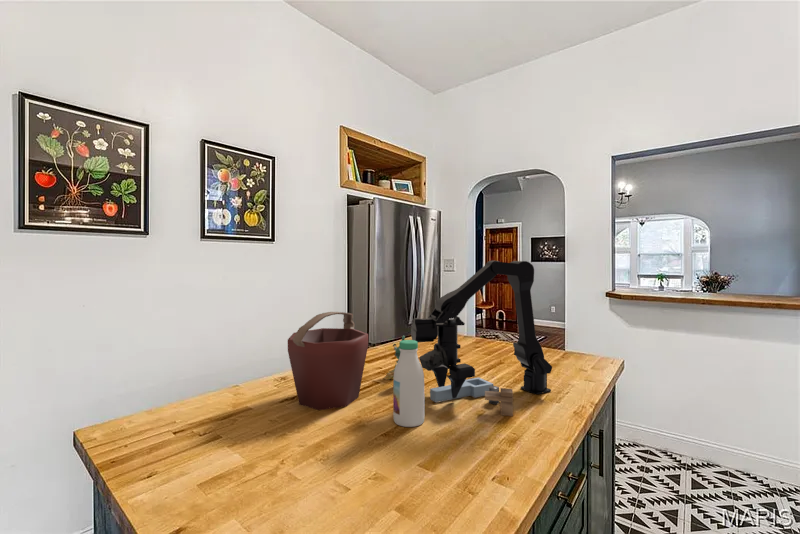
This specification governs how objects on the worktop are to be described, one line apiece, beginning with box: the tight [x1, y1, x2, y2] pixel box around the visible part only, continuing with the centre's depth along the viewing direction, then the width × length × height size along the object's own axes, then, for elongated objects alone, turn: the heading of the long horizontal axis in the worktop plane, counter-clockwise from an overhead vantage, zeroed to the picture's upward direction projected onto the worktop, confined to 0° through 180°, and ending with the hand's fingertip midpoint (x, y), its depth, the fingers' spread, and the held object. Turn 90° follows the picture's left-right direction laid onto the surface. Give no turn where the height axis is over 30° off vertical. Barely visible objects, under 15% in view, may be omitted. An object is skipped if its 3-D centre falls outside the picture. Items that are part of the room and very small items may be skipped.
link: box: [429, 377, 494, 403], centre depth 113 cm, size 19×7×3 cm, turn 117°
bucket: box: [287, 311, 369, 411], centre depth 111 cm, size 24×22×25 cm
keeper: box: [484, 387, 514, 417], centre depth 100 cm, size 4×7×6 cm, turn 77°
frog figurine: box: [382, 335, 406, 381], centre depth 134 cm, size 10×18×15 cm, turn 129°
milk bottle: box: [392, 339, 425, 428], centre depth 95 cm, size 8×8×20 cm
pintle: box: [488, 385, 500, 405], centre depth 108 cm, size 3×3×4 cm
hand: (447, 394), depth 111 cm, fingers open, 6 cm apart
